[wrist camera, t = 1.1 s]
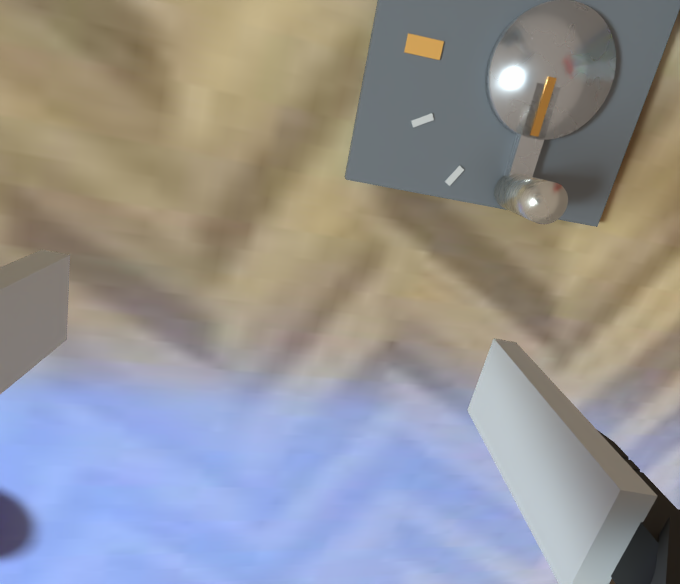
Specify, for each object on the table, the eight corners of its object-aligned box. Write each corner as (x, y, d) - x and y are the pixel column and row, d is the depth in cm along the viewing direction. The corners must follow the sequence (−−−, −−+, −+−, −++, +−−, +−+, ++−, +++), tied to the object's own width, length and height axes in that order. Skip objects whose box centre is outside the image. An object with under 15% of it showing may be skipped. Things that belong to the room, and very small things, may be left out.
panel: (401, -128, 31) (406, -142, 29) (688, -53, 33) (708, -62, 31) (344, 177, 37) (345, 179, 35) (586, 222, 39) (598, 227, 38)
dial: (507, -10, 32) (549, -41, 26) (627, 18, 33) (693, -4, 27) (451, 198, 36) (476, 212, 31) (557, 217, 37) (601, 235, 32)
